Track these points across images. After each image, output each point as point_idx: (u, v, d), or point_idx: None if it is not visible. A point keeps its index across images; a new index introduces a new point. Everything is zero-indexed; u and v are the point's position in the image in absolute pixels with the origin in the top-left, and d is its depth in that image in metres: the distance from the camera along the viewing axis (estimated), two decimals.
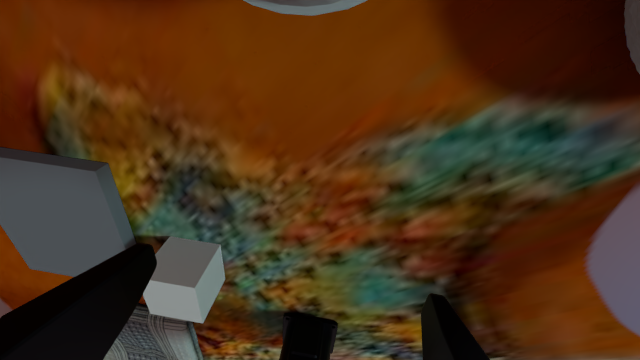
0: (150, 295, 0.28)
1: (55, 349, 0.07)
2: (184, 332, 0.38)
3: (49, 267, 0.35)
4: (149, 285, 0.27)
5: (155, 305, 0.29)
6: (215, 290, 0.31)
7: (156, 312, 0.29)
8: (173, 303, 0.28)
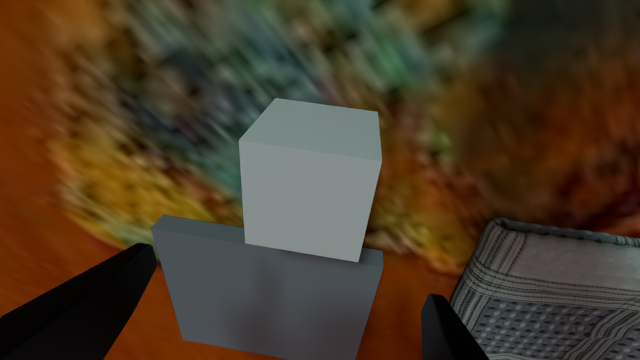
0: (293, 239, 0.14)
1: (55, 349, 0.07)
2: (536, 242, 0.17)
3: (346, 353, 0.25)
4: (260, 230, 0.14)
5: (325, 242, 0.14)
6: (355, 126, 0.14)
7: (351, 249, 0.14)
8: (310, 205, 0.13)
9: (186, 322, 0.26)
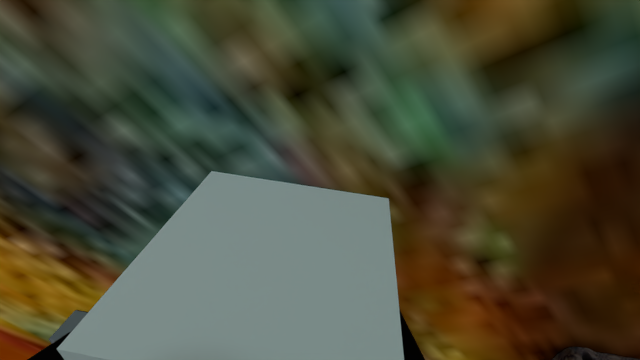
0: None
1: None
2: None
3: None
4: None
5: None
6: (346, 251, 0.07)
7: None
8: None
9: None
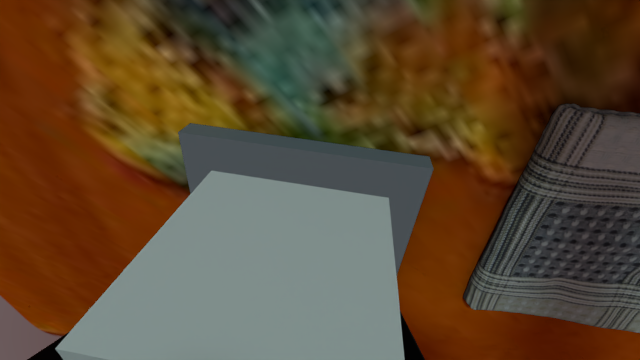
0: None
1: None
2: (616, 122, 0.15)
3: None
4: None
5: None
6: (347, 251, 0.07)
7: None
8: None
9: None
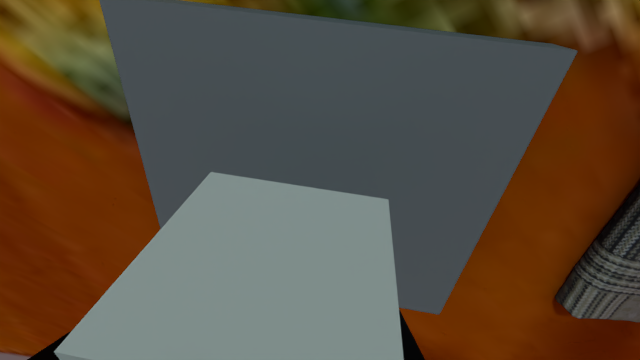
0: None
1: None
2: None
3: (440, 277, 0.15)
4: None
5: None
6: (346, 252, 0.07)
7: None
8: None
9: None
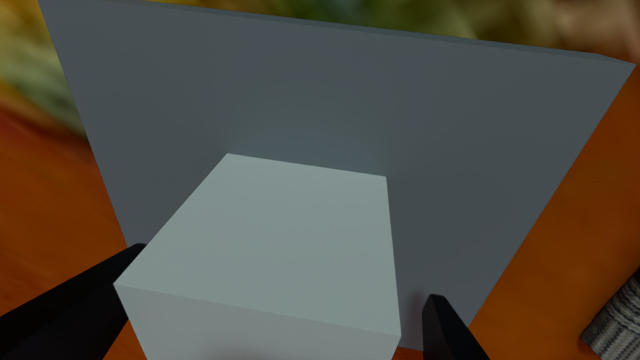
0: None
1: (54, 349, 0.07)
2: None
3: None
4: None
5: None
6: (349, 217, 0.08)
7: None
8: None
9: None
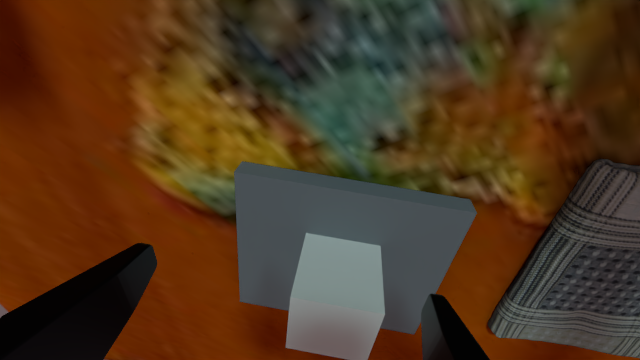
0: (321, 348, 0.20)
1: (55, 349, 0.07)
2: None
3: (413, 312, 0.25)
4: (297, 341, 0.20)
5: (343, 351, 0.19)
6: (365, 268, 0.20)
7: (361, 356, 0.19)
8: (335, 331, 0.18)
9: (248, 281, 0.26)
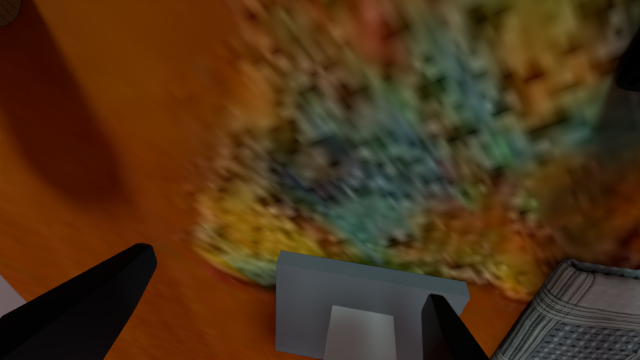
0: None
1: (55, 349, 0.07)
2: (603, 281, 0.21)
3: None
4: None
5: None
6: (382, 340, 0.25)
7: None
8: None
9: (283, 336, 0.31)
